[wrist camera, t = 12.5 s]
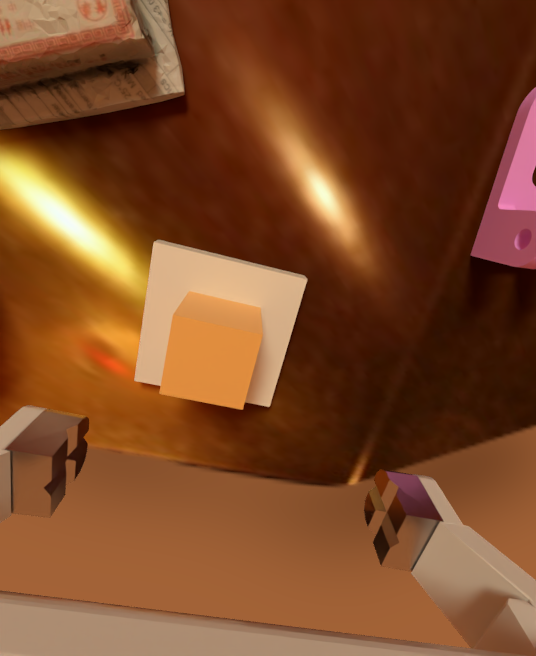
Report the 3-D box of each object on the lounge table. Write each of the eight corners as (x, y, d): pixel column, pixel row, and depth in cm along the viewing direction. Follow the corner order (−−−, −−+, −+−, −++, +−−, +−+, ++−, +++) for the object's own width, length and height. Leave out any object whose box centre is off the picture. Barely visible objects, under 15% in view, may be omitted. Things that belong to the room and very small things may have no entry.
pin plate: (304, 275, 29) (316, 292, 24) (268, 398, 33) (272, 435, 28) (158, 239, 27) (137, 249, 22) (139, 372, 31) (117, 406, 26)
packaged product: (-126, 133, 20) (-240, -95, 17) (-56, 146, 25) (-136, -32, 21) (176, 76, 20) (122, -169, 17) (190, 99, 24) (150, -90, 21)
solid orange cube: (260, 307, 28) (263, 334, 22) (244, 370, 30) (242, 409, 24) (189, 290, 27) (172, 314, 22) (177, 356, 29) (159, 393, 24)
